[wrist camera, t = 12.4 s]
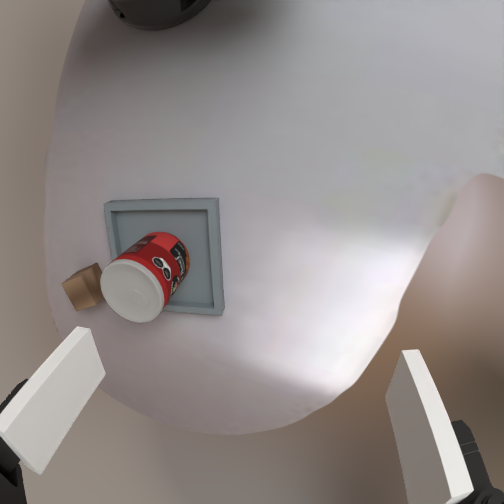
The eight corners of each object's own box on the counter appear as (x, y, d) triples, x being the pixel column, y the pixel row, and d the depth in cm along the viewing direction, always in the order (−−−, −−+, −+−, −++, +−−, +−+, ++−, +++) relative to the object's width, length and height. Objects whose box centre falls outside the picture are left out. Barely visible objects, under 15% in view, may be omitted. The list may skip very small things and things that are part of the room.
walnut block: (78, 270, 46) (61, 283, 41) (97, 262, 45) (80, 275, 40) (92, 296, 47) (76, 311, 43) (111, 289, 46) (96, 304, 41)
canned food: (186, 288, 43) (157, 333, 33) (136, 270, 43) (98, 308, 33) (197, 240, 40) (167, 276, 30) (143, 222, 40) (101, 251, 30)
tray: (110, 200, 40) (103, 204, 38) (218, 197, 39) (215, 201, 37) (127, 299, 46) (121, 306, 44) (224, 307, 44) (221, 315, 42)
